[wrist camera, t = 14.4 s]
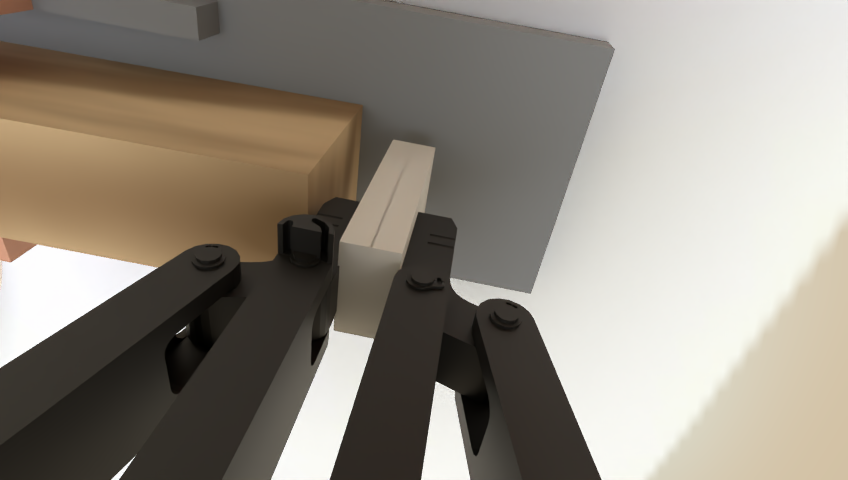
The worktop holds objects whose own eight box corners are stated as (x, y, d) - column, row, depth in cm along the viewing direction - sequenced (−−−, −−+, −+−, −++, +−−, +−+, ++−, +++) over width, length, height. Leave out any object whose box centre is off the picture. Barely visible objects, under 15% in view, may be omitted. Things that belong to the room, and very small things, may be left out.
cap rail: (-73, -85, 17) (-318, -92, 12) (607, 42, 17) (656, 92, 12) (11, 173, 23) (-134, 245, 18) (529, 276, 22) (538, 384, 17)
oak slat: (-12, 38, 18) (-207, 80, 13) (362, 104, 18) (308, 174, 13) (21, 141, 20) (-136, 211, 15) (356, 202, 20) (306, 296, 15)
